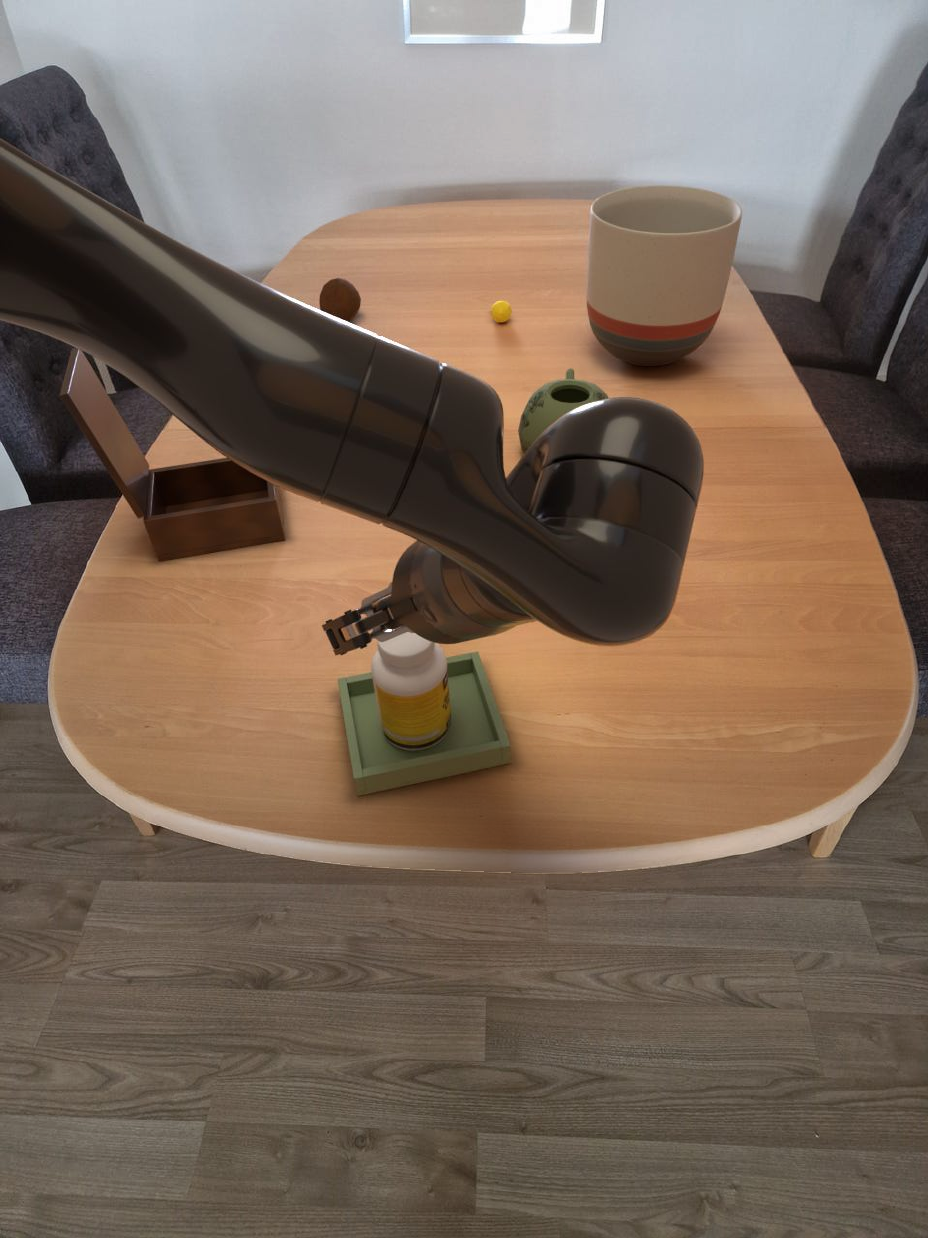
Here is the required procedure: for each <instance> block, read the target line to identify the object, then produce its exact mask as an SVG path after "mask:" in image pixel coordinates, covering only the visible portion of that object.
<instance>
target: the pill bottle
mask: <svg viewBox="0 0 928 1238" xmlns="http://www.w3.org/2000/svg"><path fill="white" fill-rule="evenodd" d="M376 643H377V650H376V652H375V653H374V654H373V657H372V660H371V664H370V672H371V673H372V679H373V684H374V690H375V695H376V701H377V706H378V712H379V719H380V725H381V729H382V732H383V734H384V736H385V738H386V739H387V740H388V741H389V742H390V743H391V744H393V745H394V746H396V747H398V748H401V749H404V750H410V751H417V750H424V749H427V748H430V747H432V746H434V745H436V744H437V743H439V742H440V741H441V740H442V739H443V738H444V737H445V736H446V734H447V732H448V731H449V728H450V724H451V709H450V696H449V684H448V669H447V659H446V658H447V655H446V653H445V652H444V650H443V648H442V647H441V646H440V645H439V643H434V642H431V641H428V640H426V639H424V638H422V637H420V636H419V635H417V634H416V633H410V632H406V633H404V634H401V635H399V636H397V637H394V638H392V639H389V640H387V641H385V642H380V641H378V640H377V639H376Z"/></svg>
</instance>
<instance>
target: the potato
mask: <svg viewBox="0 0 928 1238" xmlns="http://www.w3.org/2000/svg"><path fill="white" fill-rule="evenodd" d="M361 302H362V298H361V295H360V292H359V291H358V290H357V288H356V286H355V285H354V284H353V283H351V281H349V280H347V279H345V278H340V277H335V278H331V279H330V280H328V281H327V282H326V283H324V284H323V285H322V288H321V291H320V294H319V301H318V303H319V310H321V311H323V312H325V313H327V314H330V315H332V316H334V317H337V318H339V319H342V320H344V321H346V322H349V323H350V321H352V320H353V319H354V318H355V317H356V316H357V314H358V312H359V310H360V308H361Z"/></svg>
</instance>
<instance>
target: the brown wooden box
mask: <svg viewBox="0 0 928 1238" xmlns="http://www.w3.org/2000/svg"><path fill="white" fill-rule="evenodd" d="M282 507H283V506H282V500H281V491H280V487H278V486H276V485H274V484H272V483H270V482H268V481H266V480H264V479H262V478H260V477H258V476H256V475H254V474H253V473H251V472H249V471H247V470H246V469H244V468H242V467H241V466H239V465H237V464H236V463H234V462H233V461H231V460H230V459H228V458H227V457H222V458H215V459H208V460H203V461H197V462H196V461H195V462H190V463H183V464H177V465H171V466H163V467H158V468H149V475H148V487H147V499H146V511H145V517H142V519H143V521H142V522H143V524H144V527H145V530H146V532H147V535H148V537H149V540H150V543H151V545H152V548H153V551H154V553H155V556H156V559H157V561H158V562H163V561H170V560H176V559H181V558H187V557H192V556H199V555H205V554H210V553H216V552H222V551H223V552H224V551H228V550H235V549H240V548H246V547H253V546H258V545H265V544H270V543H274V542H275V543H276V542H281V541H282V542H283V541H286V532H285V524H284V517H283V508H282Z"/></svg>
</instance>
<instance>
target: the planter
mask: <svg viewBox="0 0 928 1238" xmlns="http://www.w3.org/2000/svg"><path fill="white" fill-rule="evenodd" d="M742 218H743V209H742V207H741V205H740V204H739V203H738V202H737V201H736V200H734V199H733V198H731V197H728V196H726V195H725V194H721V193H719V192H715V191H713V190H708V189H704V188H698V187H692V186H681V185H664V184H663V185H662V184H661V185H641V186H633V187H626V188H621V189H617V190H613V191H610V192H608V193H605V194H602V195H601V196H599V197H598V198H596V199H595V200H594V201H593V202H592V203H591V206H590V213H589V227H588V241H587V243H588V244H587V258H586V259H587V261H586V293H585V294H586V298H585V299H586V311H587V317H588V321H589V325H590V328H591V331H592V333H593V335H594V337H595V338H596V340H597V341H598V342H599V344H600V345H601V346H602V347H603V348H604V349H605V350H606V351H608V353H610V354H611V355H612V356H614V357H615V358H617V359H619V360H620V361H623V362H625V363H628V364H632V365H636V366H642V367H658V366H664V365H669V364H673V363H675V362H677V361H681V360H682V359H683V358H685V357H687V356H689V355H690V354H692V353H693V352H695V351H696V350H698V348H699V347H700V346H702V345H703V344H704V343H705V341H706V340H707V339H708V338H709V336H710V334H711V333H712V332H713V330H714V328H715V326H716V324H717V321H718V320H719V317H720V315H721V311H722V308H723V304H724V301H725V296H726V293H727V288H728V283H729V280H730V276H731V271H732V266H733V262H734V257H735V253H736V247H737V243H738V238H739V232H740V227H741V222H742Z"/></svg>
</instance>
